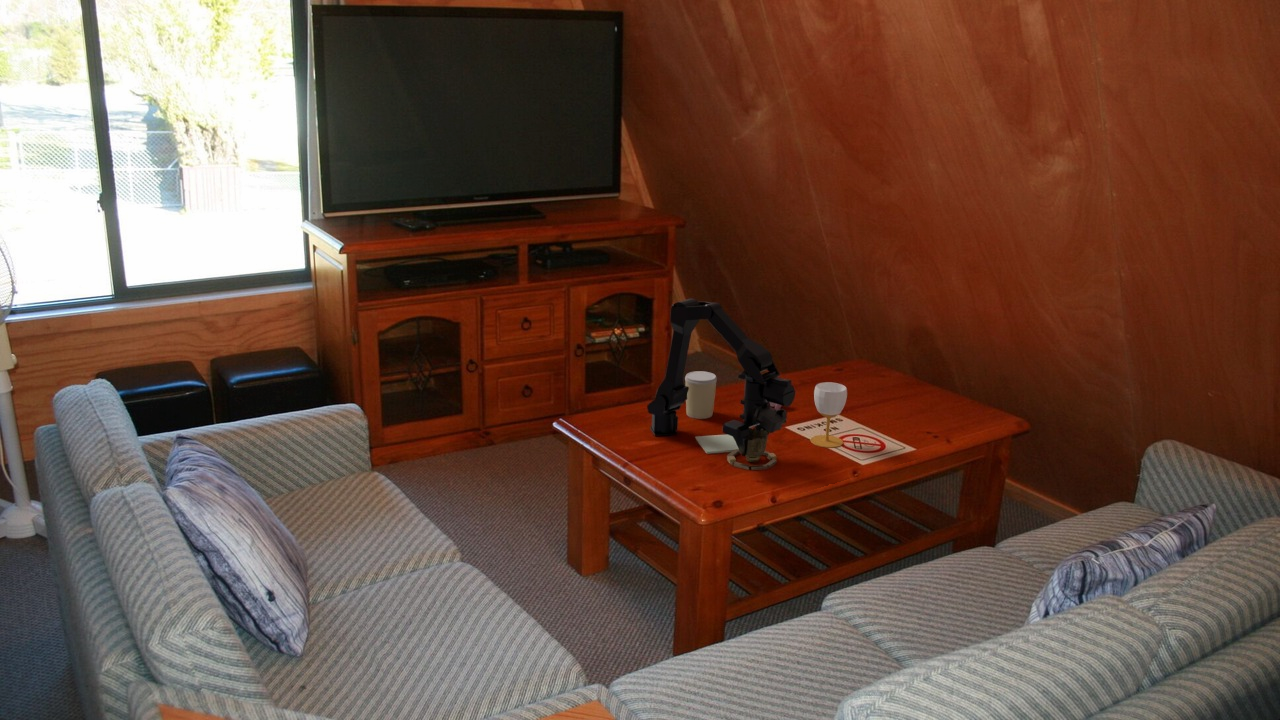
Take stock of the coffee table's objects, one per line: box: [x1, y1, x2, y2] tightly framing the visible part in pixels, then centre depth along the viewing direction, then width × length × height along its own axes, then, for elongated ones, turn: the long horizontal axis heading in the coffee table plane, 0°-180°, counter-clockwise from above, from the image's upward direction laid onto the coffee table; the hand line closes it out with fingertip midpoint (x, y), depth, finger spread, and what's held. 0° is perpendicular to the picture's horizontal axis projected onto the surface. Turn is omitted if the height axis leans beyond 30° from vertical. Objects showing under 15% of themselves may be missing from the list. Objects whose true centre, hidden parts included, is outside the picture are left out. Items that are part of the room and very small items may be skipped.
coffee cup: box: [684, 370, 718, 420], centre depth 307 cm, size 9×9×12 cm
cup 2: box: [810, 381, 848, 449], centre depth 288 cm, size 9×9×16 cm
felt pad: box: [695, 434, 739, 454], centre depth 287 cm, size 11×11×1 cm
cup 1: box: [745, 427, 769, 463], centre depth 275 cm, size 8×7×8 cm
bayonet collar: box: [726, 449, 778, 471], centre depth 276 cm, size 13×12×1 cm
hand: (751, 452), depth 276 cm, fingers closed on cup 1, 6 cm apart
